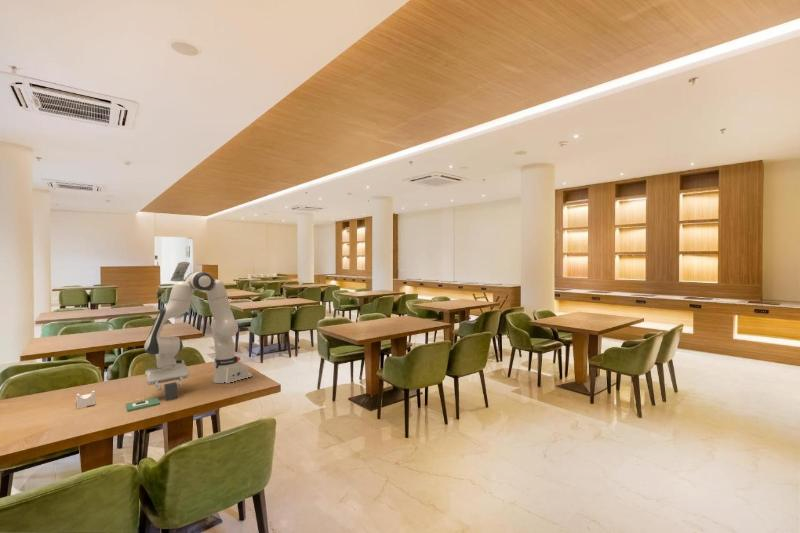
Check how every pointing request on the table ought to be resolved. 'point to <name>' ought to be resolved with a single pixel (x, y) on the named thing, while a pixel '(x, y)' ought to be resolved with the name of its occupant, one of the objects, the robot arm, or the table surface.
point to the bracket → (85, 400)
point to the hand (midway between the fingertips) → (169, 387)
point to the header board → (142, 404)
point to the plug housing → (170, 391)
